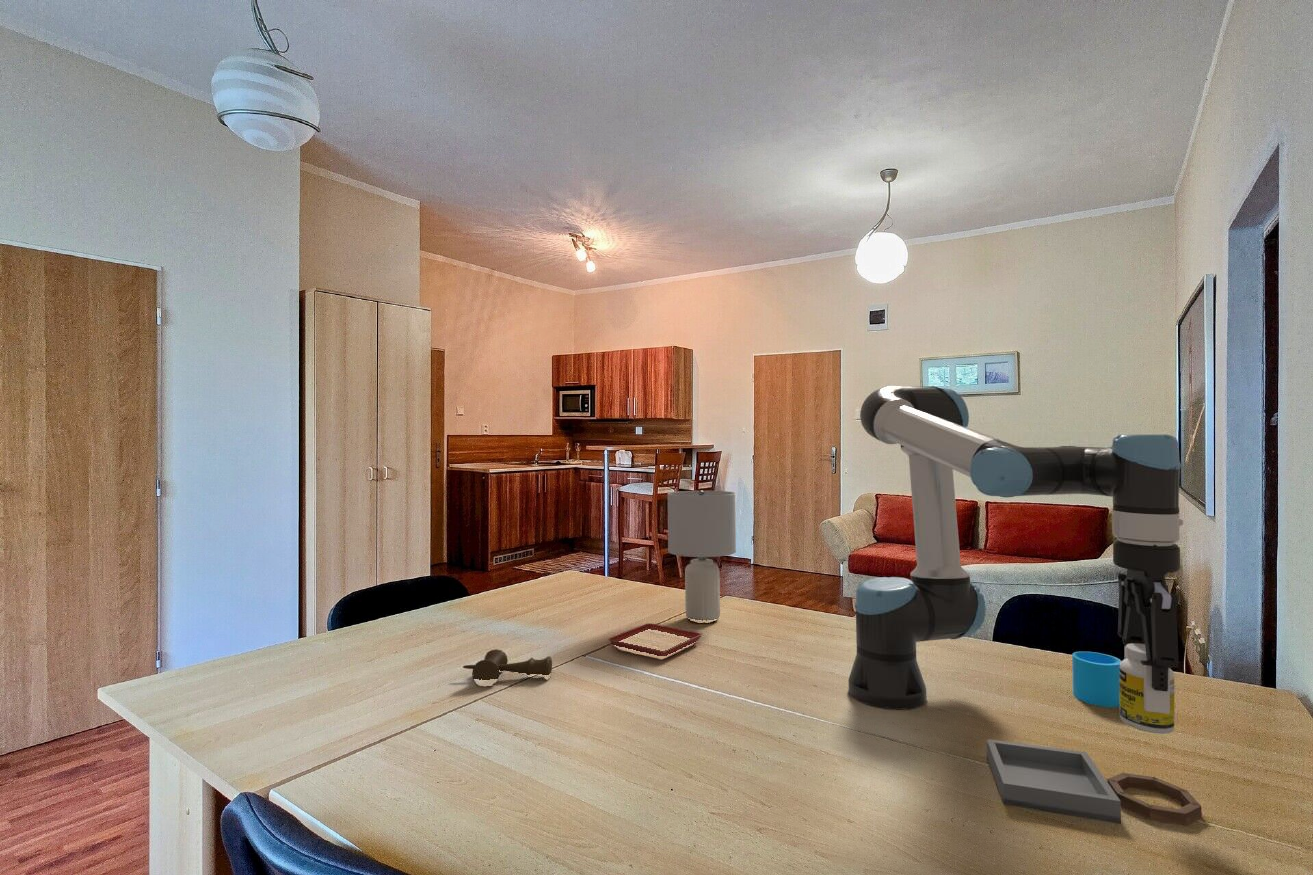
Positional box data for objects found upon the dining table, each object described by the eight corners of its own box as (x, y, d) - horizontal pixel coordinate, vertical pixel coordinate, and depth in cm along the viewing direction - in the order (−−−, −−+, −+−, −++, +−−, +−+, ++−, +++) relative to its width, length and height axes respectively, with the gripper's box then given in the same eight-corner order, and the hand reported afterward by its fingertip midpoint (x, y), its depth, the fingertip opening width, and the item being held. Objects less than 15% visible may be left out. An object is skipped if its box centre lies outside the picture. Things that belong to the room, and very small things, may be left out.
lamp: (664, 628, 174) (662, 492, 175) (674, 609, 194) (672, 488, 195) (735, 630, 171) (733, 492, 171) (737, 611, 191) (736, 488, 192)
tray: (1003, 804, 87) (1003, 783, 87) (986, 757, 100) (986, 738, 100) (1121, 823, 82) (1120, 801, 82) (1086, 771, 95) (1086, 752, 95)
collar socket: (1125, 815, 84) (1125, 804, 84) (1100, 779, 93) (1100, 769, 93) (1212, 829, 80) (1212, 817, 80) (1178, 791, 89) (1177, 780, 90)
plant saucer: (648, 633, 170) (648, 622, 170) (703, 645, 160) (703, 632, 160) (606, 651, 156) (606, 638, 156) (664, 665, 145) (664, 651, 145)
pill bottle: (1108, 715, 90) (1108, 641, 90) (1147, 714, 91) (1146, 640, 91) (1145, 736, 84) (1145, 656, 84) (1186, 734, 85) (1186, 655, 85)
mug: (1131, 709, 118) (1129, 666, 118) (1082, 704, 120) (1081, 663, 120) (1104, 685, 129) (1103, 647, 129) (1060, 682, 131) (1059, 644, 131)
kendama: (547, 689, 132) (455, 687, 132) (554, 674, 142) (469, 672, 142) (547, 661, 132) (456, 660, 132) (555, 648, 142) (469, 646, 142)
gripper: (1213, 554, 77) (1213, 736, 77) (1148, 532, 95) (1149, 679, 95) (1141, 551, 80) (1142, 727, 80) (1092, 529, 98) (1092, 673, 98)
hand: (1146, 700), depth 87 cm, fingers closed on pill bottle, 6 cm apart
